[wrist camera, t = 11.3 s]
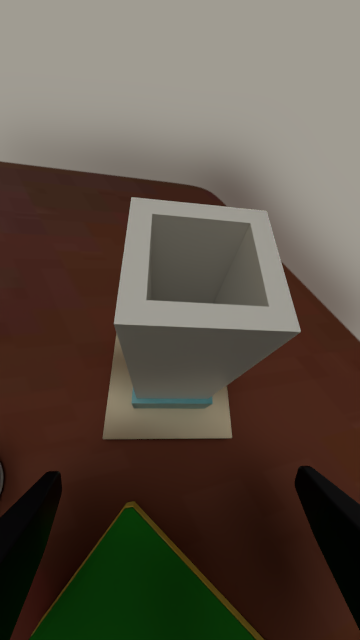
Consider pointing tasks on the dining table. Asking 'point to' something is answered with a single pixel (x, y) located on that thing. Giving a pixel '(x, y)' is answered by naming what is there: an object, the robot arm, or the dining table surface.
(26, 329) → the dining table surface
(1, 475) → the supplement bottle
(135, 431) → the pin plate
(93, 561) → the dish sponge
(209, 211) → the sleeve
